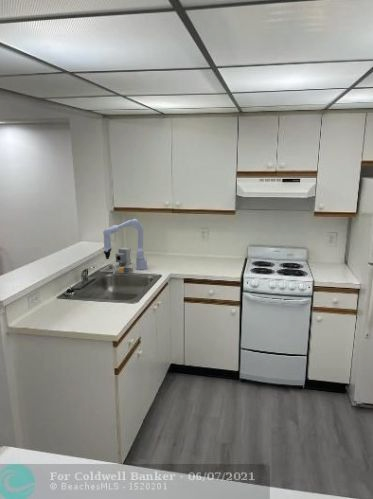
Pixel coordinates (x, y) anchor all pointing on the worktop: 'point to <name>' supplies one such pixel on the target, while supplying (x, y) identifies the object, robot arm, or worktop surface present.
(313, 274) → the worktop surface
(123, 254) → the circuit breaker
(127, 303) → the worktop surface
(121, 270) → the toggle
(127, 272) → the breaker panel
